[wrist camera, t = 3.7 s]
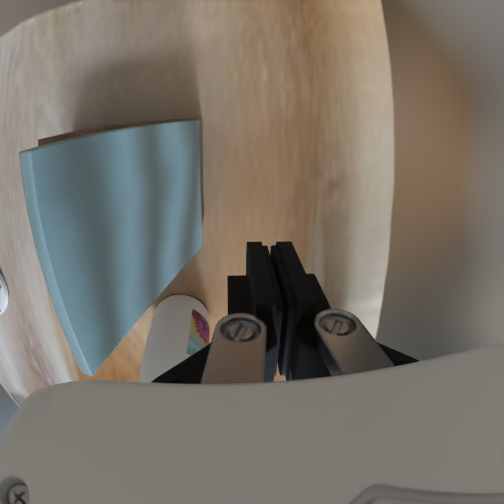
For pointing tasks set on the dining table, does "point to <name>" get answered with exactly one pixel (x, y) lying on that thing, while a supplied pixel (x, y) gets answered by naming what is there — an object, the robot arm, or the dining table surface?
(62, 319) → the light blue flat slab
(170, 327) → the milk bottle
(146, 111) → the dining table surface
